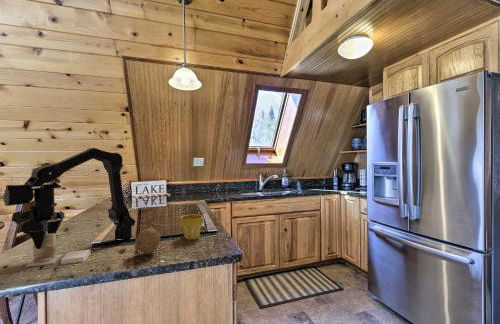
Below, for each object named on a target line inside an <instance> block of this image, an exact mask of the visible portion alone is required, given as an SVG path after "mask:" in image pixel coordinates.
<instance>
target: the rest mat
mask: <svg viewBox="0 0 500 324" xmlns="http://www.w3.org/2000/svg"><path fill="white" fill-rule="evenodd" d="M63 255H64V254H63V253H62V254H56V257H55V258H53V259H52V260H51V261H48V262H39V263H33V260H34V259H32V260H31V261H30V262H28V263H27V264H25V267H26V268H27V267H36V266H45V265H54V264H56V262H58V260H60V259H62V258H63V257H64V256H63Z"/></svg>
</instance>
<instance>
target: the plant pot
mask: <svg viewBox="0 0 500 324" xmlns="http://www.w3.org/2000/svg"><path fill="white" fill-rule="evenodd" d="M203 224H204V216H203V214H202V215H201V214H187V215H186V214H185V215H182V216H181V217H180V225H181V227H182V230H183V231H182V232H183V237H184V239H186V240H197V239H199V238H200V233H201V229H202V225H203Z"/></svg>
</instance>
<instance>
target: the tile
mask: <svg viewBox="0 0 500 324" xmlns="http://www.w3.org/2000/svg"><path fill="white" fill-rule="evenodd" d="M90 255H91V249H83V250H73V251H72V250H71V251H69V252H67V253H66V254H65V255H64V256H62V257H61V258H60V264H61V265H66V264H74V263H83V262H85V261H86V260H87V258H89V256H90Z"/></svg>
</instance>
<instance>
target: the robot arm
mask: <svg viewBox="0 0 500 324" xmlns="http://www.w3.org/2000/svg"><path fill="white" fill-rule="evenodd" d="M90 160H96V161H99V162H101V163H102V166H103V168H104V170H105V171H106V173H107V175H108V182H109V183H108V184H109V190H110V196H111V197H110V198H111V207H110V208H107V213H108V219H110V221H111V222H113V225H114V226H115V230H114V239H115V240H116V239H130V238H133V236H134V235H133V227H134V226H135V225H136V220H135V219H134V218H132V216H131V214H130V210H129V208H128V207H127V205H126V204H125V199H124V192H123V186H122V185H123V183H122V178H121V170H122V168H123V156H122V155H121V154H120V153H118V152H109V151H105V150H101V149H99V148H96V147H90V148H87V149H86V150H84V151H81V152H79V153H76V154H74V155H72V156H70V157H67V158H65V159H63V160H61V161H59V162H58V161H57V162H55V163H50V164H46V165H41V166H37V167H35V168H34V169H33V170H31V174H30V177H29V178H28V179H27V180H26V182H24V184H7V185H5V190H4V193H3V203H4V205H5V206H6V207H10V206H18V205H19V206H20V205H27V204H30V202H33V205H31V206H30V207H29V208H30V210H26V211H25V212H22V211H21V210H19V211H17V212H13V213H12V216H11V218H12V219H11V222H14V223H15V224H16V225H20V224H21V223H22V224H21V225H20V232H21V233H23V234H25V235H26V234H27V235H28V236H30V238H31V240H32V242H34V244H35V246H36V249H40V248H41V247H42V244H43V242H44V239H45V236H46V234H53V233H56V234H57V232H58V231H59V228H60V227H61V225H62V223H63V222H64V219H65V218H66V217H65V213H64V212H63V211H56V210H55V207H57V205H58V204H57V202H55V189H61V188H62V186H61V185H59V184H58V182H56V181H55V180H57V179H58V178H60V177H61V176H62V175H64V174H65V172H68V171H69V170H72V169H73V168H76V167H77V166H80V165H82V164H84V163H86V162H88V161H90ZM23 222H24V223H23Z"/></svg>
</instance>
